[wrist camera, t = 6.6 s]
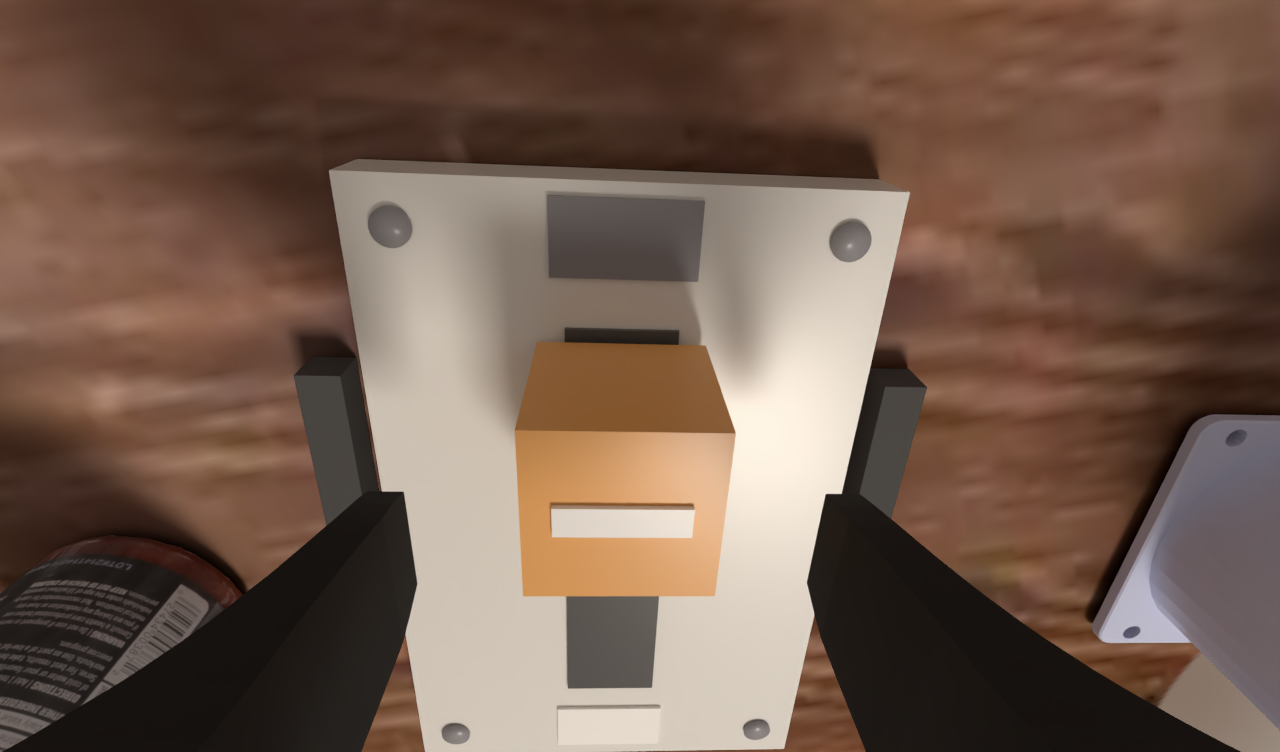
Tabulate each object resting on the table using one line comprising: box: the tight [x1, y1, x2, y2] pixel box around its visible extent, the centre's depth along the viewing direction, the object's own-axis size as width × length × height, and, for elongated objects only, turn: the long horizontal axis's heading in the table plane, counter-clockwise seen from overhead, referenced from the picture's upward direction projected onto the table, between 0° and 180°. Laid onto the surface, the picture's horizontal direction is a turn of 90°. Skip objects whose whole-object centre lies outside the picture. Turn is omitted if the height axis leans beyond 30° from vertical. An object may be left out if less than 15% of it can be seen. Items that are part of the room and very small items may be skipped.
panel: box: [329, 159, 910, 752], centre depth 16 cm, size 11×17×2 cm, turn 177°
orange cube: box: [515, 342, 736, 596], centre depth 12 cm, size 4×4×4 cm
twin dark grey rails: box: [294, 357, 927, 525], centre depth 17 cm, size 14×8×1 cm, turn 87°
